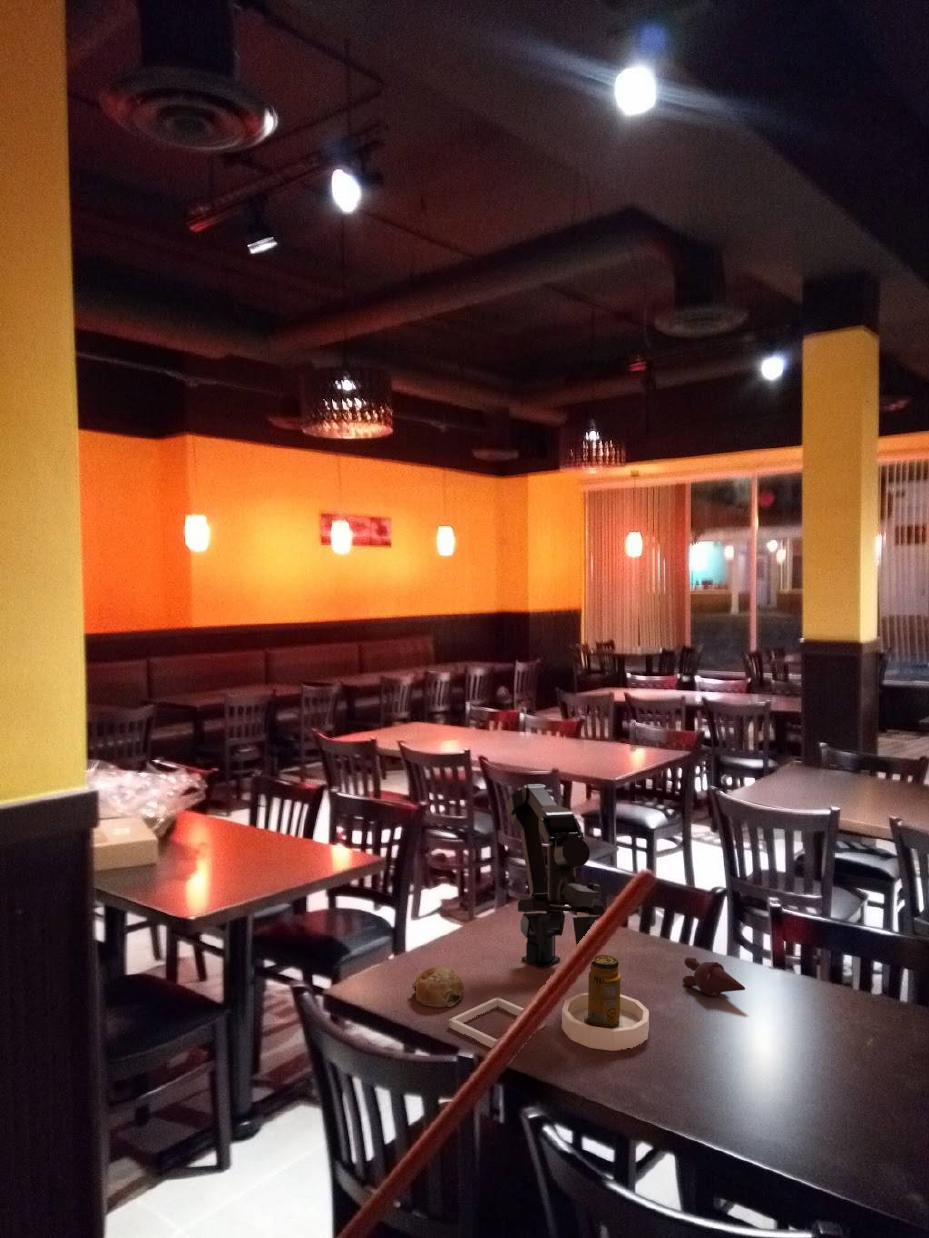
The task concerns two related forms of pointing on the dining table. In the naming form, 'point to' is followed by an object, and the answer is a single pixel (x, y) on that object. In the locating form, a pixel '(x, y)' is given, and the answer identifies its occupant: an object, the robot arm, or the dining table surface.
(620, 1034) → the bowl
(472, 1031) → the square frame
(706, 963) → the icecream
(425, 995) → the bread roll
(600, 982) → the condiment
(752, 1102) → the dining table surface
